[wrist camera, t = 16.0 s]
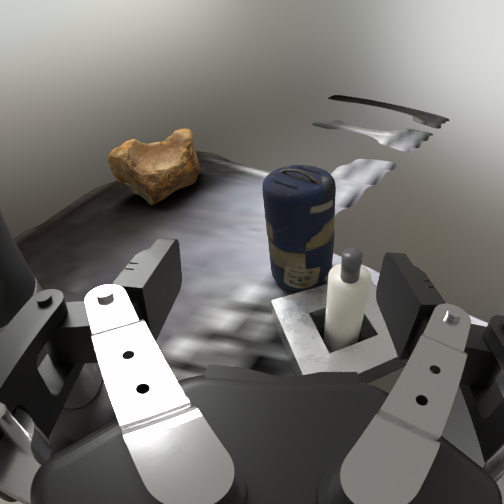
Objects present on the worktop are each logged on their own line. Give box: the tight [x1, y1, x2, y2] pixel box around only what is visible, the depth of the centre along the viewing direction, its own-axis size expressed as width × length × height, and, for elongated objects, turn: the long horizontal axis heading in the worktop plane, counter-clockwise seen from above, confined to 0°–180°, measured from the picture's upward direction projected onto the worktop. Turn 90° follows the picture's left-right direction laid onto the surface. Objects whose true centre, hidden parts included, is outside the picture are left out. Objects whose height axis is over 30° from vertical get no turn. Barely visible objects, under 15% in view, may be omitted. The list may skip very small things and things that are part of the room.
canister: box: [263, 165, 336, 292], centre depth 44 cm, size 10×10×18 cm
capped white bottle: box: [323, 248, 371, 353], centre depth 34 cm, size 4×4×15 cm
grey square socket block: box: [271, 281, 409, 384], centre depth 38 cm, size 14×14×4 cm
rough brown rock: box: [108, 129, 200, 205], centre depth 74 cm, size 23×17×15 cm
